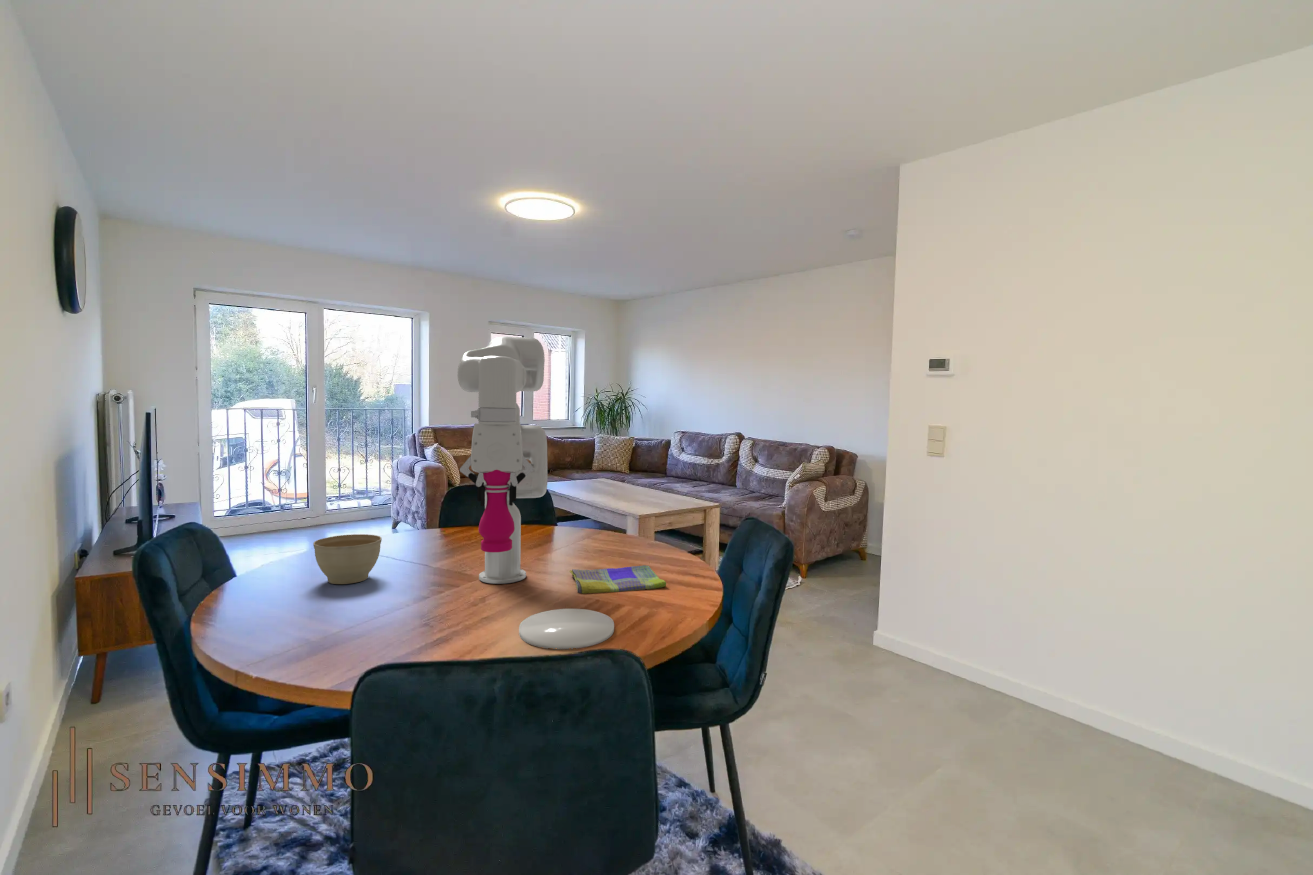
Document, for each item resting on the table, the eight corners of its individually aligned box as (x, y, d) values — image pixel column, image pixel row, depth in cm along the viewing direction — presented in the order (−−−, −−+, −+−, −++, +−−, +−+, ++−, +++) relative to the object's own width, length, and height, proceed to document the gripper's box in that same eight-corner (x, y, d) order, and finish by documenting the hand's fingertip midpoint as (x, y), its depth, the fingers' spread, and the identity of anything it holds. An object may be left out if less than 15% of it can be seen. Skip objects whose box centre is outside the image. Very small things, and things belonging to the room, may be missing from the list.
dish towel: (667, 591, 156) (667, 580, 156) (574, 596, 150) (575, 585, 150) (652, 572, 173) (652, 563, 173) (568, 576, 167) (569, 567, 167)
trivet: (517, 617, 133) (517, 611, 133) (605, 610, 138) (605, 605, 138) (520, 653, 114) (520, 647, 114) (622, 644, 119) (622, 638, 119)
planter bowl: (394, 578, 161) (394, 538, 160) (335, 593, 147) (334, 550, 147) (360, 568, 170) (360, 530, 169) (301, 581, 156) (301, 541, 155)
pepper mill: (481, 554, 118) (482, 454, 117) (475, 546, 124) (476, 451, 123) (517, 551, 121) (518, 454, 120) (510, 543, 128) (511, 451, 126)
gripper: (451, 416, 116) (451, 508, 117) (540, 418, 120) (539, 507, 121) (455, 416, 123) (455, 502, 124) (539, 417, 127) (538, 501, 128)
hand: (497, 503), depth 122 cm, fingers closed on pepper mill, 5 cm apart
